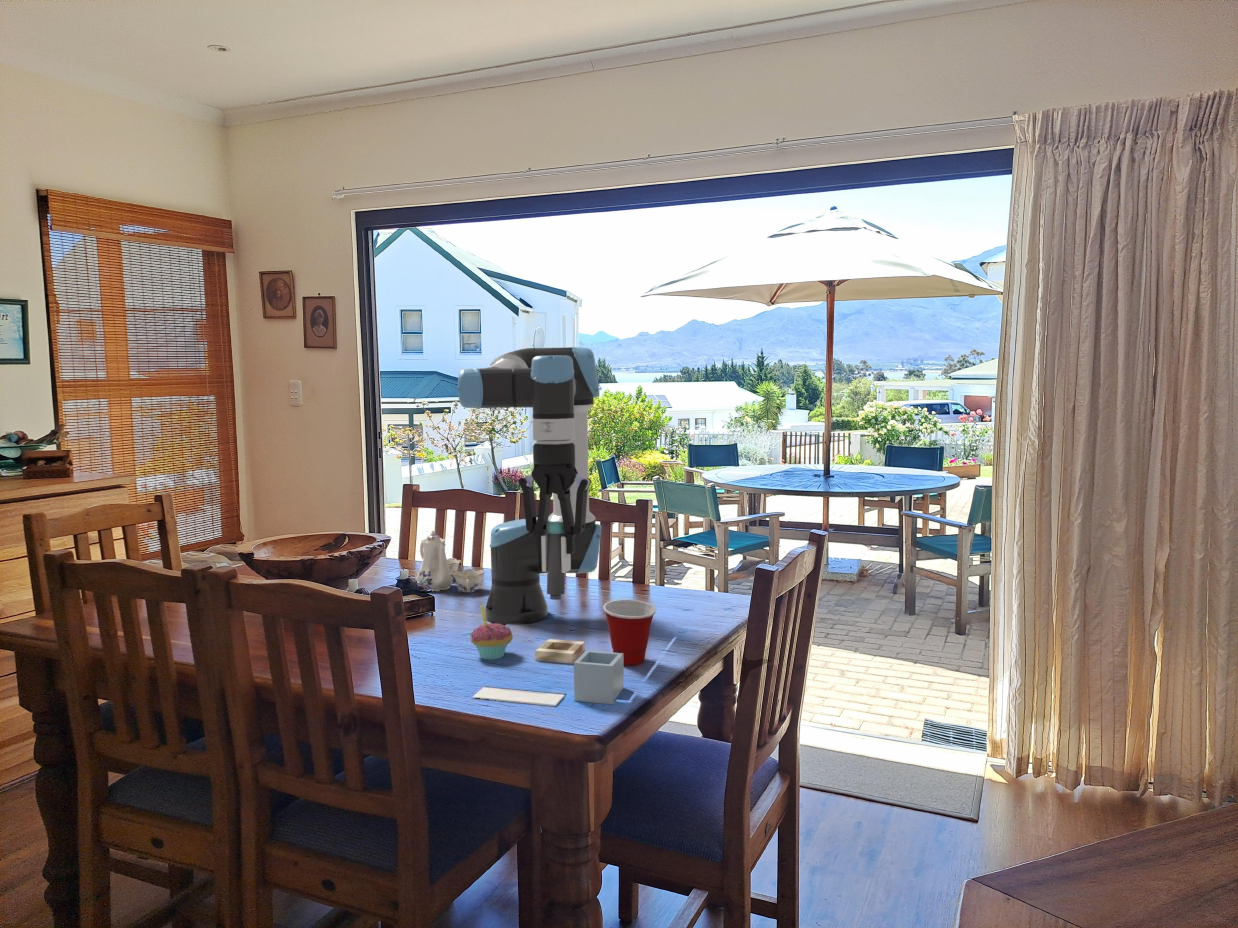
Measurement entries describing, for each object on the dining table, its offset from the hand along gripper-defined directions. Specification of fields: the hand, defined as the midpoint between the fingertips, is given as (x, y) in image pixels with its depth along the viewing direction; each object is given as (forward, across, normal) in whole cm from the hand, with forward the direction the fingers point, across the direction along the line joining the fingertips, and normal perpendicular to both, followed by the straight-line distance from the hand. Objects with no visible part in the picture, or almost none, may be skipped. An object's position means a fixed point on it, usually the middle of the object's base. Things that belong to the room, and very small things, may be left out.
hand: (556, 570), depth 156 cm
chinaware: (+23, -60, +68) cm, 93 cm away
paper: (+23, -6, 0) cm, 24 cm away
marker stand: (+23, -7, +18) cm, 30 cm away
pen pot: (+23, +8, 0) cm, 24 cm away
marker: (+5, 0, -1) cm, 5 cm away
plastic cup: (+23, +8, +18) cm, 31 cm away
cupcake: (+23, -20, +15) cm, 34 cm away
